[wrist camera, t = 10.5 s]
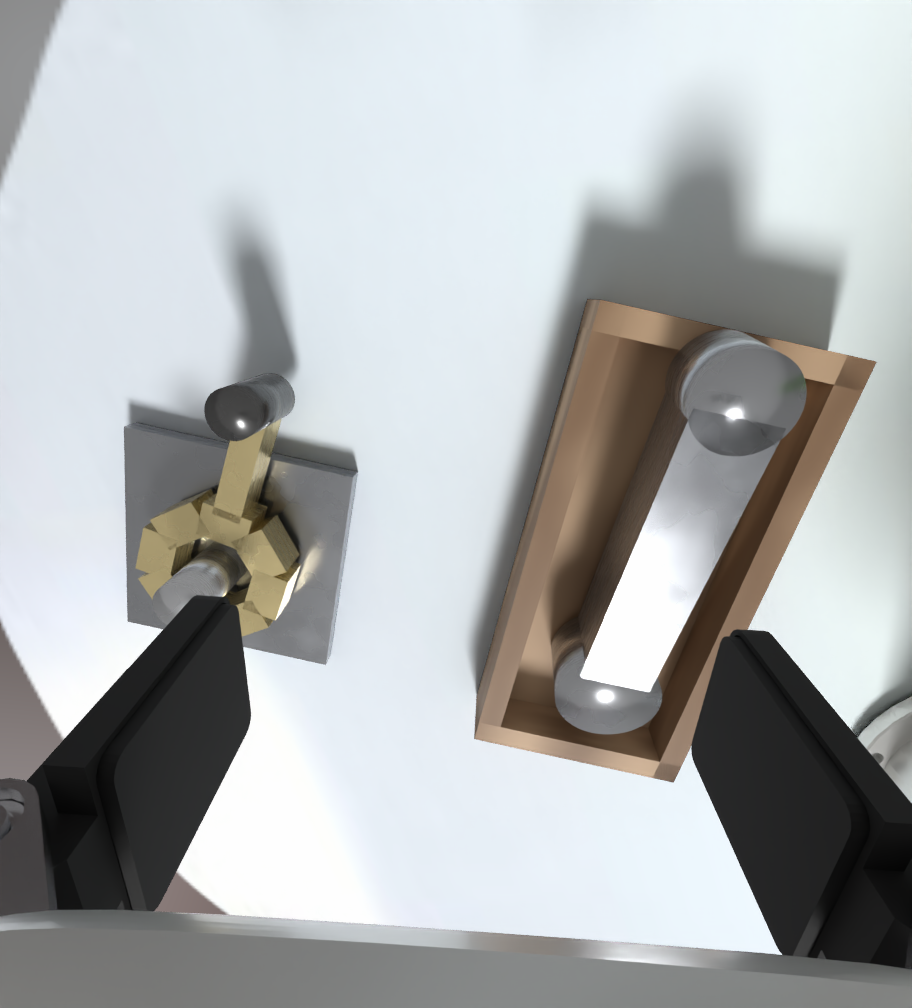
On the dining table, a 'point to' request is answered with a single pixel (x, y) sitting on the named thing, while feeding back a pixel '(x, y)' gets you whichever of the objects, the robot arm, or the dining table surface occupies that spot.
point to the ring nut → (233, 505)
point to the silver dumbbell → (674, 525)
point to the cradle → (591, 516)
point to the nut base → (218, 568)
